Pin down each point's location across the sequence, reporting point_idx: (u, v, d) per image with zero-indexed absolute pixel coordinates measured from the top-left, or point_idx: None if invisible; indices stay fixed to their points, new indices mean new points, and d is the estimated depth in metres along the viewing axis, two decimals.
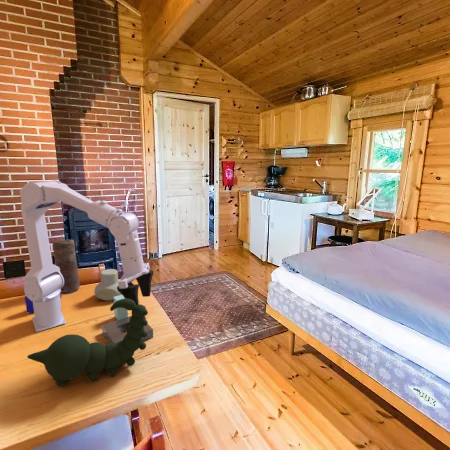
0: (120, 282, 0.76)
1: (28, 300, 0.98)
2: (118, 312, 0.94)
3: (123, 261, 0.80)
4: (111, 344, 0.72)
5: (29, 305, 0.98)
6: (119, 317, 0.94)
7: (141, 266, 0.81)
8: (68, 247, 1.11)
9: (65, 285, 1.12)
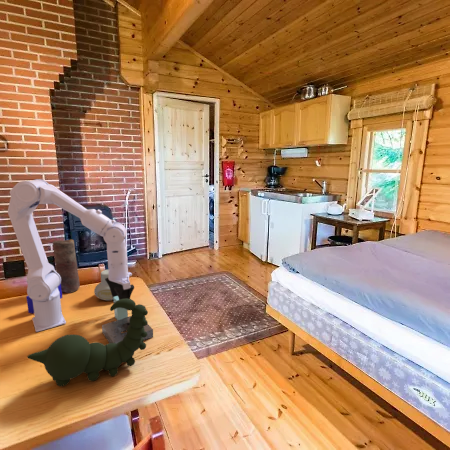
0: (126, 283, 0.88)
1: (30, 300, 0.98)
2: (118, 312, 0.94)
3: (117, 266, 0.90)
4: (111, 344, 0.72)
5: (31, 305, 0.98)
6: (119, 317, 0.94)
7: (127, 269, 0.94)
8: (68, 247, 1.11)
9: (65, 285, 1.12)
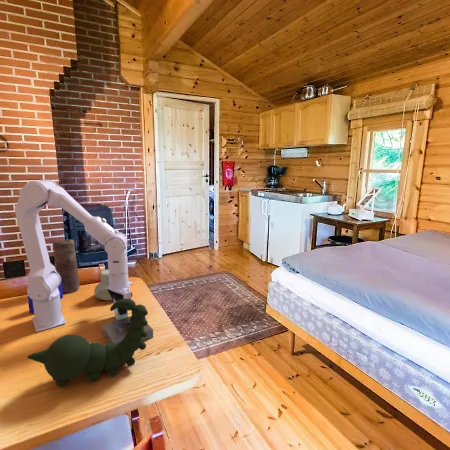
0: (126, 294, 0.89)
1: (31, 300, 0.98)
2: (118, 312, 0.94)
3: (117, 276, 0.91)
4: (111, 344, 0.72)
5: (32, 305, 0.98)
6: (119, 317, 0.94)
7: None
8: (68, 247, 1.11)
9: (65, 285, 1.12)
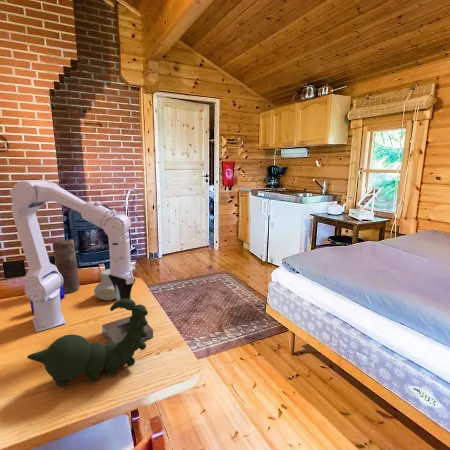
0: (129, 278, 0.82)
1: None
2: None
3: (119, 260, 0.84)
4: (111, 344, 0.72)
5: None
6: None
7: (130, 263, 0.88)
8: (68, 247, 1.11)
9: (65, 285, 1.12)
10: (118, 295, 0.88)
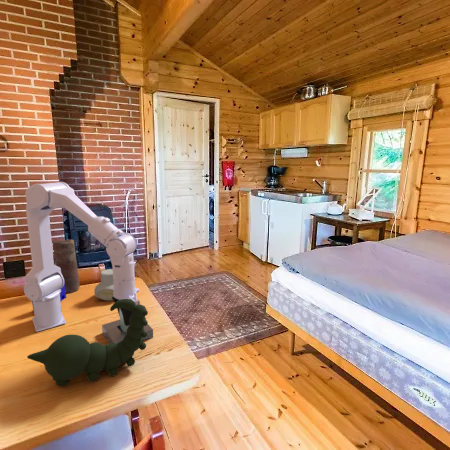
0: None
1: None
2: (124, 323, 0.84)
3: (123, 282, 0.81)
4: (111, 344, 0.72)
5: None
6: (126, 328, 0.85)
7: None
8: (68, 247, 1.11)
9: (65, 285, 1.12)
10: (122, 318, 0.85)
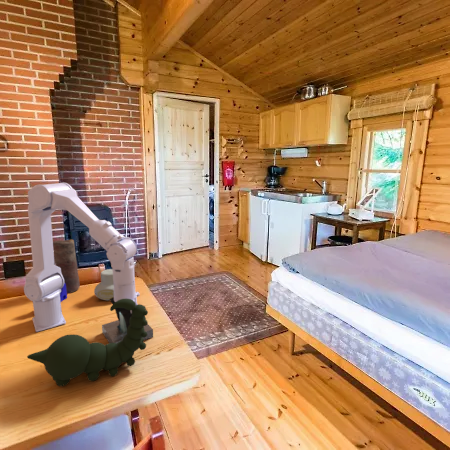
0: None
1: None
2: (125, 329, 0.84)
3: (123, 287, 0.81)
4: (111, 344, 0.72)
5: None
6: None
7: None
8: (68, 247, 1.11)
9: None
10: (122, 325, 0.85)
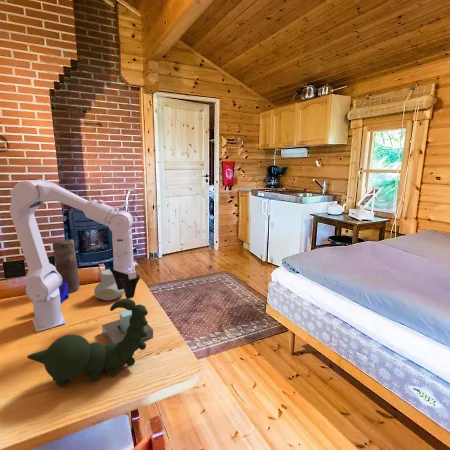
0: (131, 273, 0.85)
1: None
2: (125, 329, 0.84)
3: (122, 255, 0.87)
4: (111, 344, 0.72)
5: None
6: None
7: None
8: (68, 247, 1.11)
9: None
10: (122, 325, 0.85)
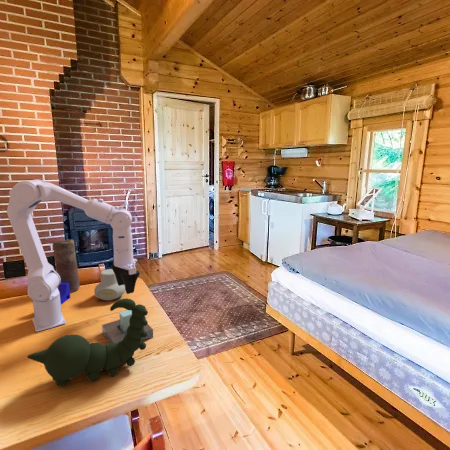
0: (131, 269, 0.88)
1: None
2: (125, 329, 0.84)
3: (122, 252, 0.90)
4: (111, 344, 0.72)
5: None
6: None
7: None
8: (68, 247, 1.11)
9: None
10: (122, 325, 0.85)
